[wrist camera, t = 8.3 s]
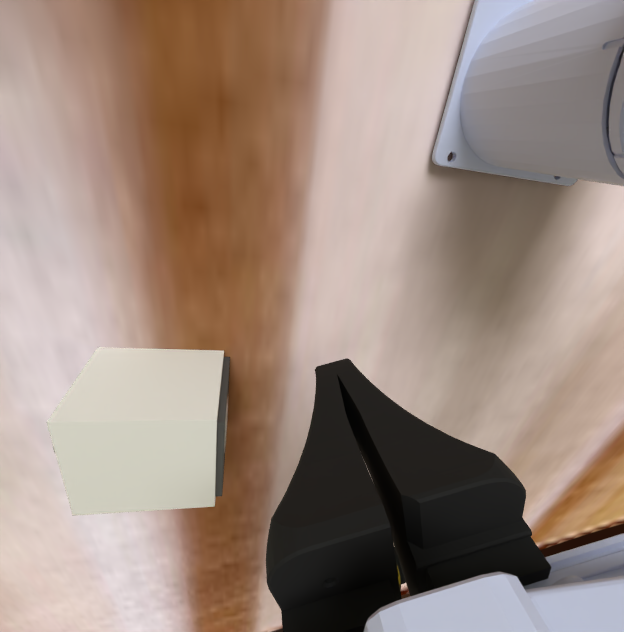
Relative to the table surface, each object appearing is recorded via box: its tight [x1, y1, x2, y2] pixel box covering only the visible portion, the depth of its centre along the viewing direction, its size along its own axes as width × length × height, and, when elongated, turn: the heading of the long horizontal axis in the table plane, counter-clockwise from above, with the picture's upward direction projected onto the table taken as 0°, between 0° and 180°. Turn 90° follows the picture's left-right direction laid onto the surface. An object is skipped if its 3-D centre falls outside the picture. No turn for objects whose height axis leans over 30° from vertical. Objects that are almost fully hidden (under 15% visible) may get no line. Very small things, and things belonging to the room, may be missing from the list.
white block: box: [47, 347, 230, 516], centre depth 21 cm, size 8×7×6 cm
